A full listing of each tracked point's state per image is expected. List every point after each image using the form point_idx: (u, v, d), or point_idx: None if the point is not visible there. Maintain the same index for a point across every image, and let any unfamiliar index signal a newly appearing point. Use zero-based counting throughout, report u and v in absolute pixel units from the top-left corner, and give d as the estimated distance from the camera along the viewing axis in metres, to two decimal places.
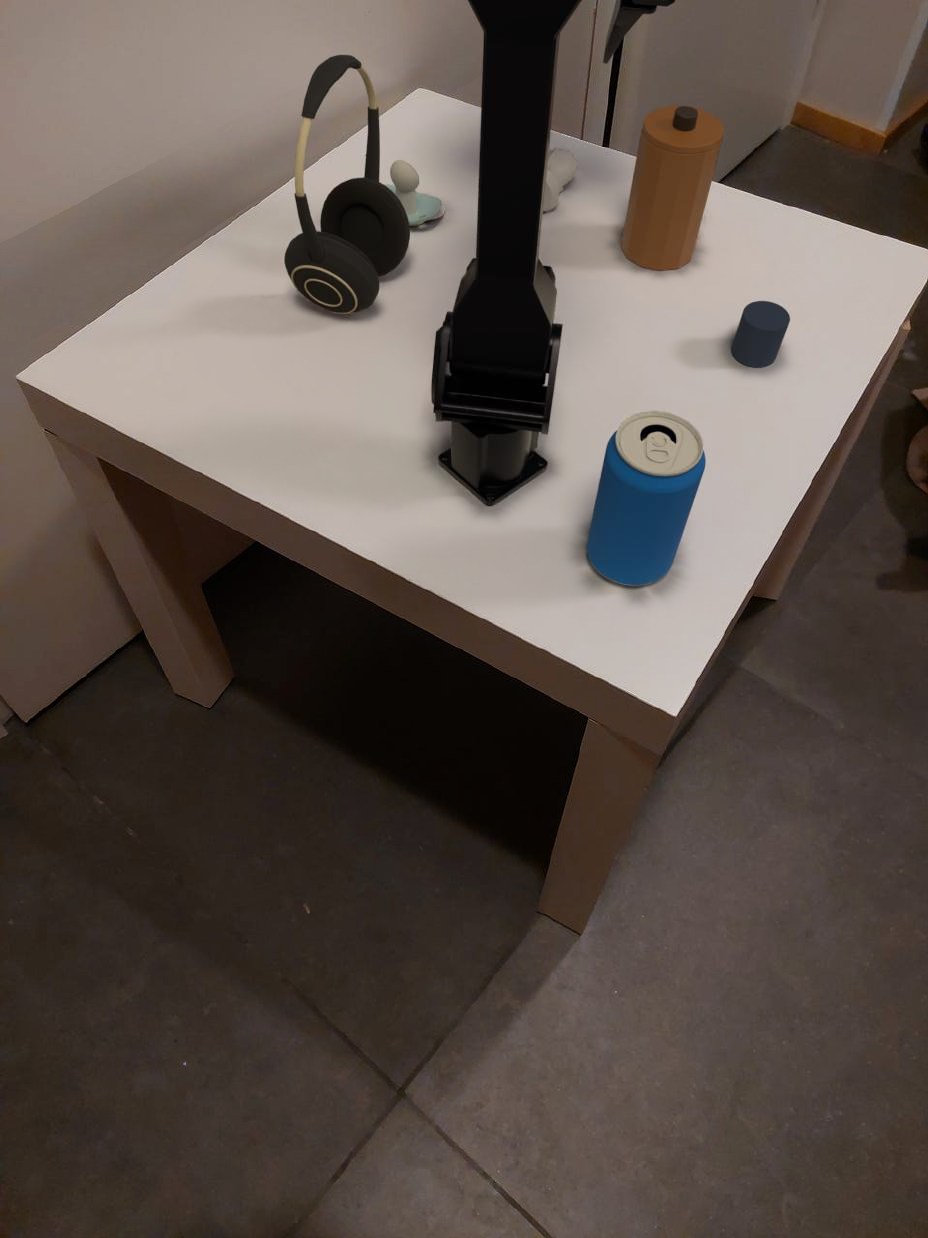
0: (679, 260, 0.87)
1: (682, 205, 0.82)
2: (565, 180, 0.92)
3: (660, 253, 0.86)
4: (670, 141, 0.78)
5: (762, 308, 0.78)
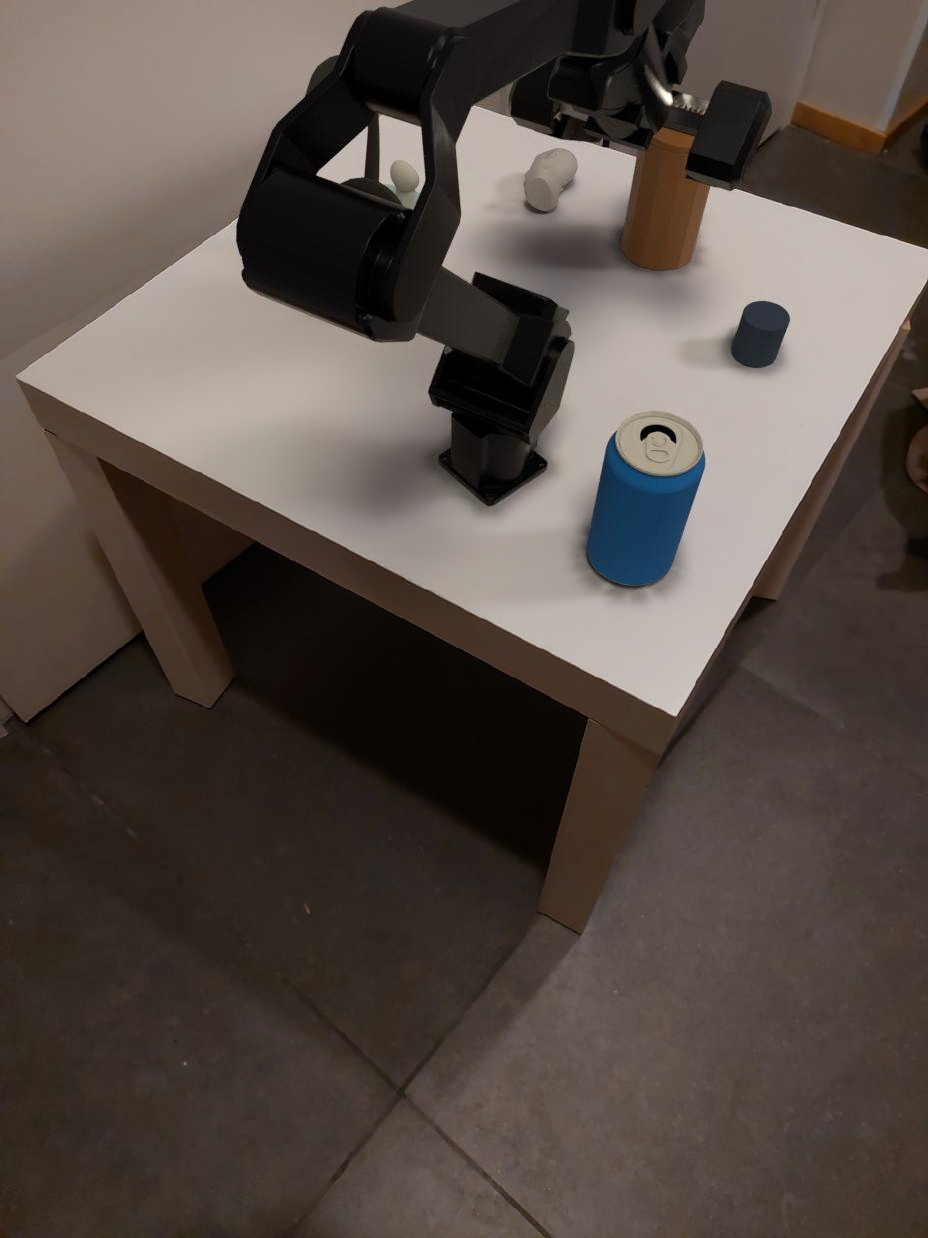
0: (679, 260, 0.87)
1: (682, 205, 0.82)
2: (565, 180, 0.92)
3: (660, 253, 0.86)
4: (670, 141, 0.78)
5: (762, 308, 0.78)
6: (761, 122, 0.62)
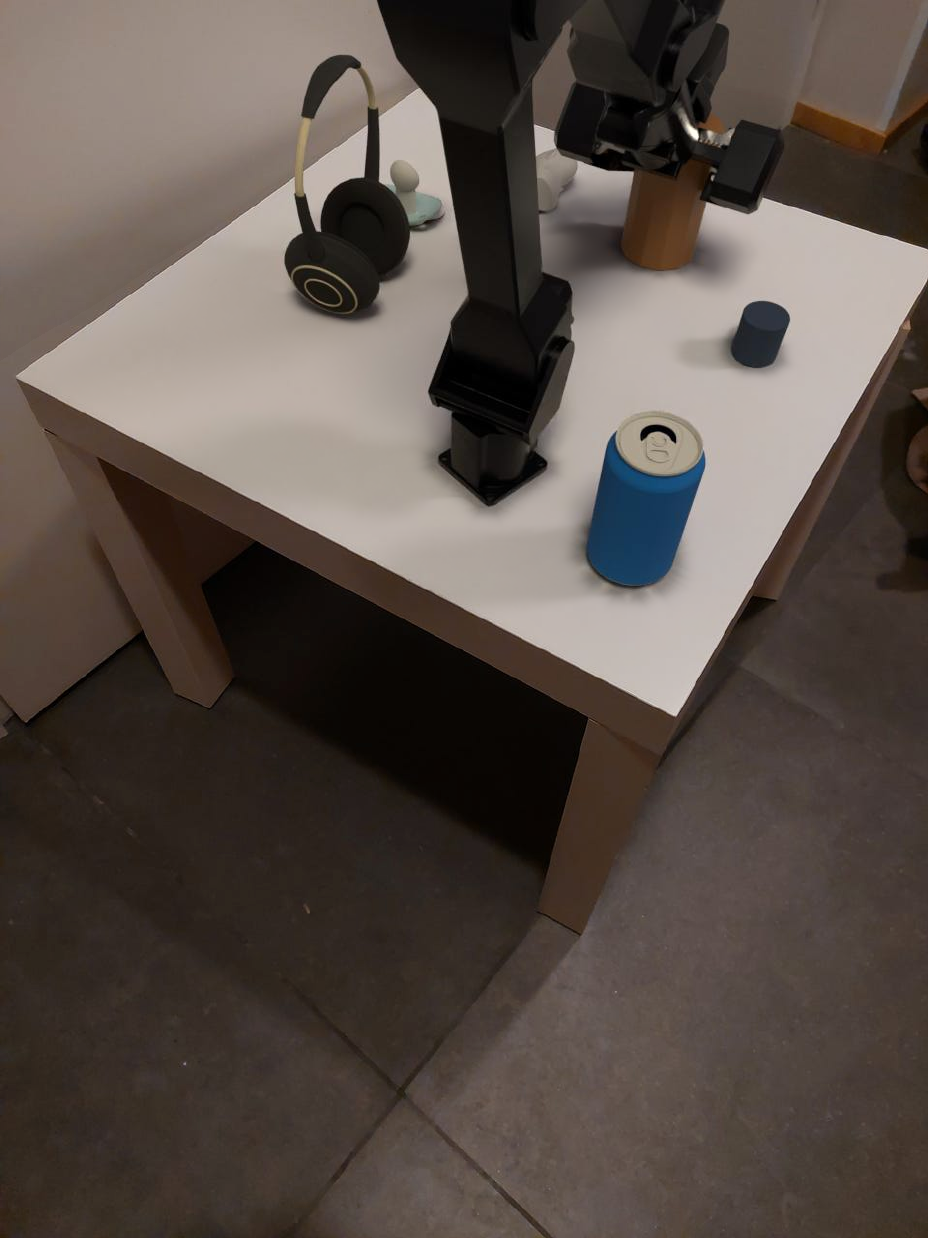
0: (679, 260, 0.87)
1: (682, 205, 0.82)
2: (565, 180, 0.92)
3: (660, 253, 0.86)
4: None
5: (762, 308, 0.78)
6: (775, 156, 0.73)
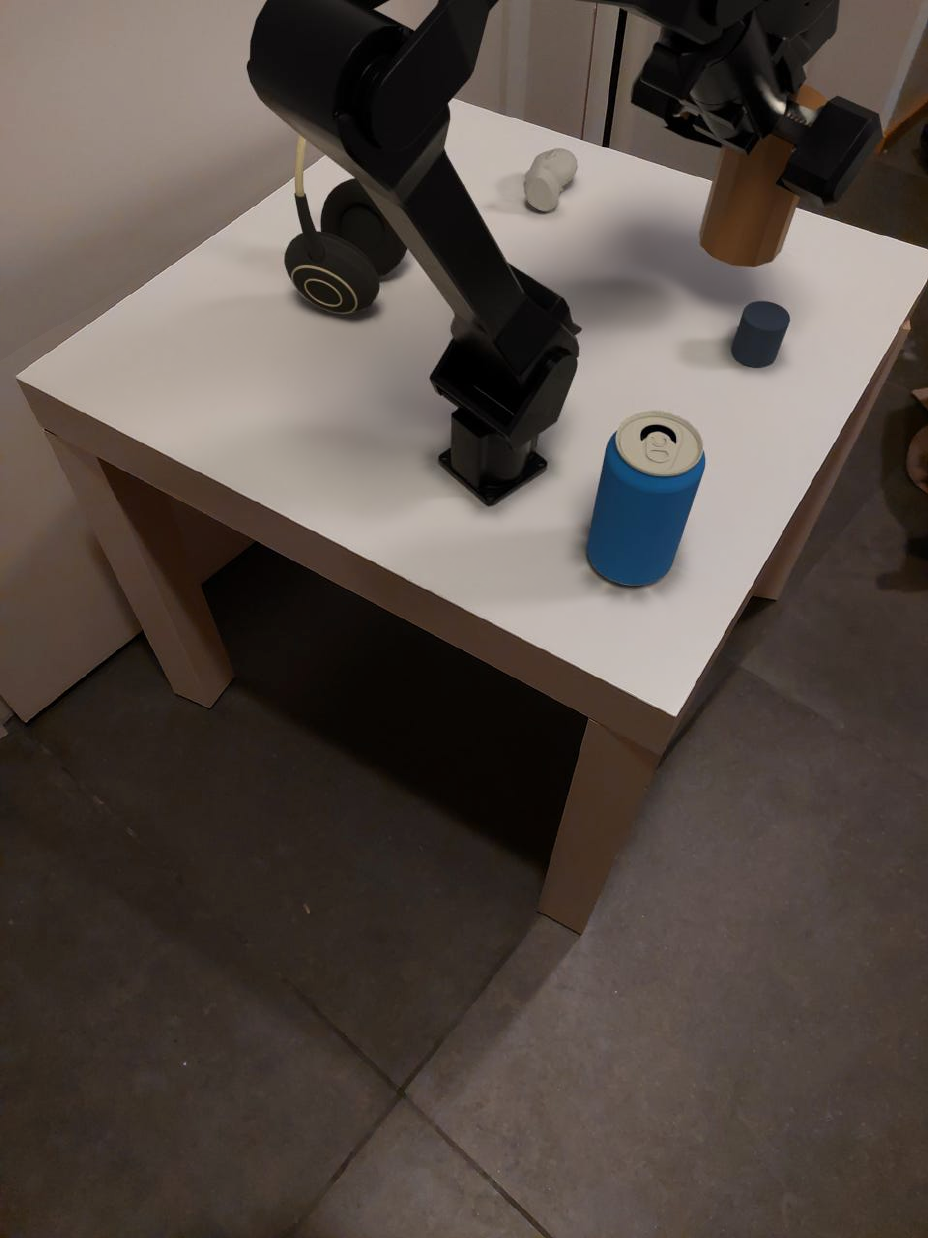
0: (756, 258, 0.76)
1: (764, 192, 0.71)
2: (565, 180, 0.92)
3: (734, 245, 0.76)
4: None
5: (762, 308, 0.78)
6: (865, 142, 0.62)
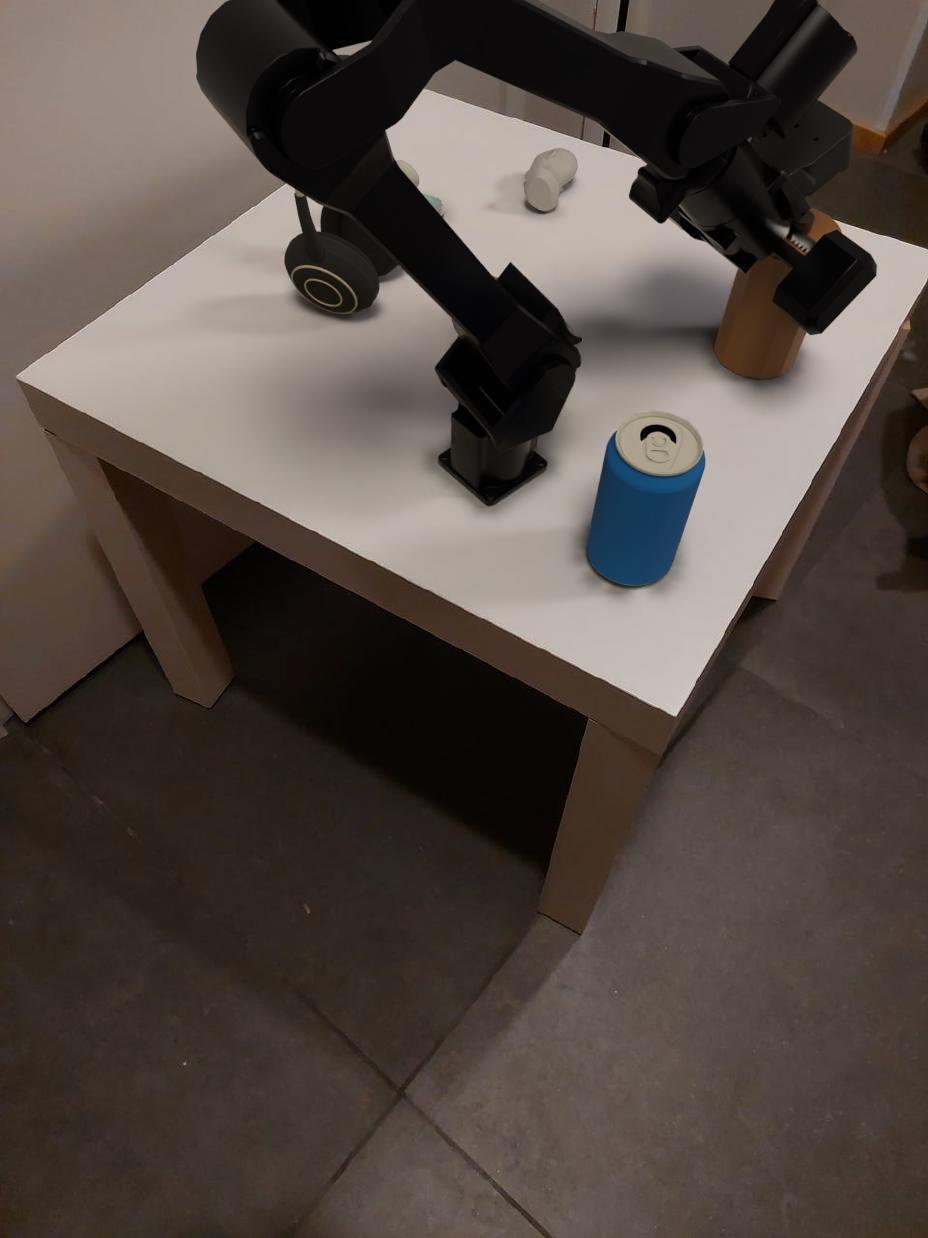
0: (761, 371, 0.78)
1: (769, 313, 0.73)
2: (565, 180, 0.92)
3: (740, 356, 0.78)
4: None
5: None
6: (852, 280, 0.63)
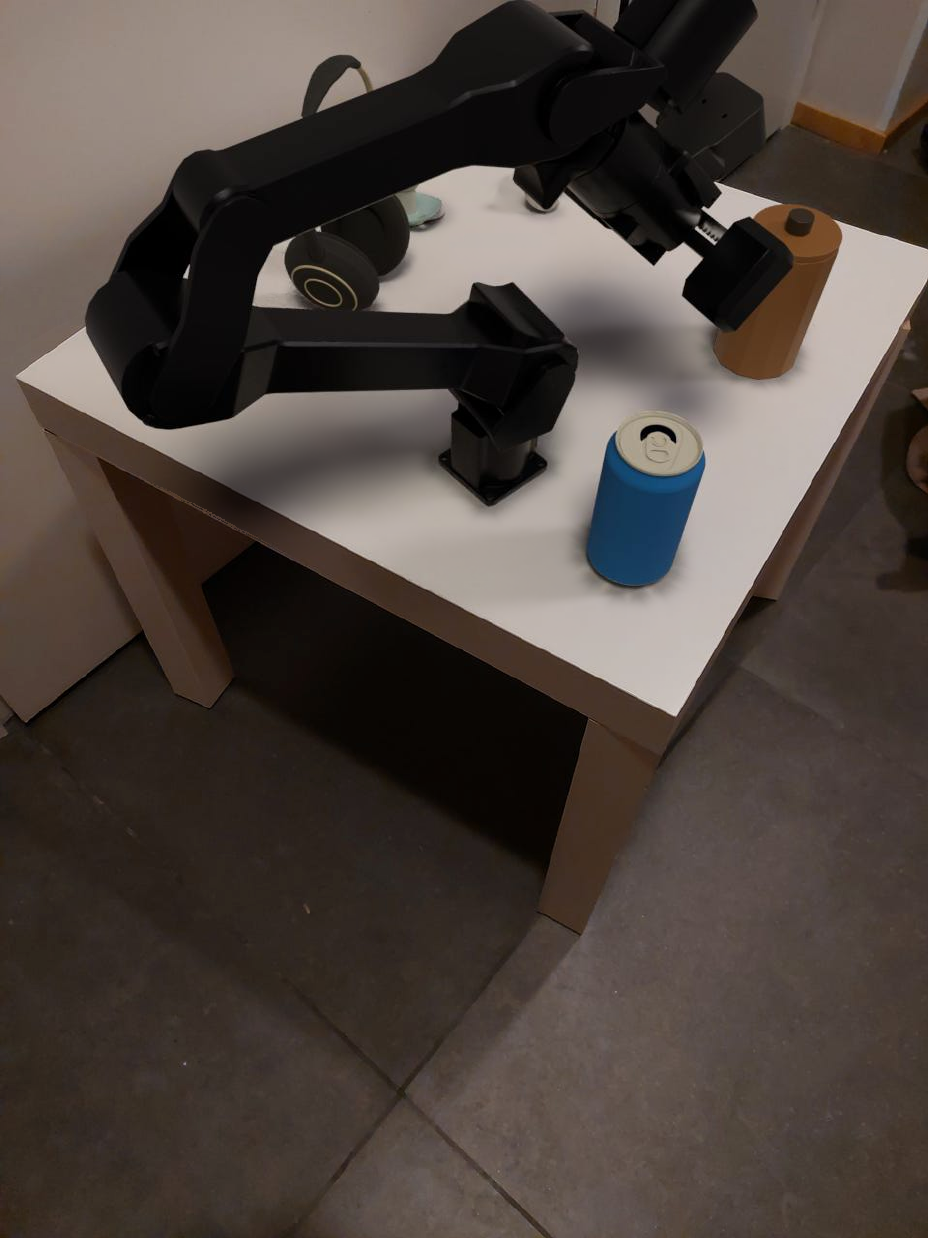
0: (761, 371, 0.78)
1: (769, 313, 0.73)
2: None
3: (740, 356, 0.78)
4: None
5: None
6: (764, 272, 0.56)
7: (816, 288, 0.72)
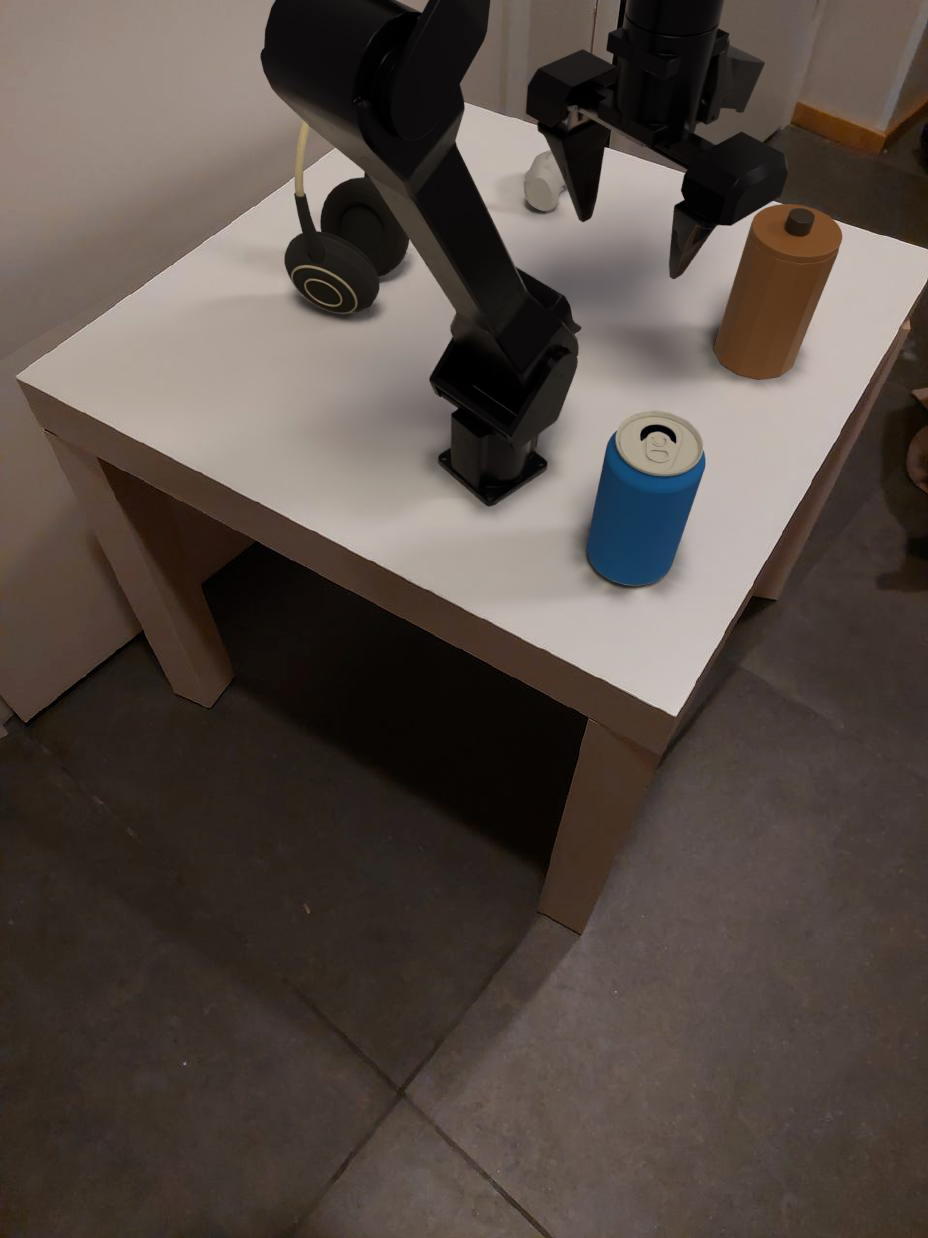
0: (761, 371, 0.78)
1: (769, 313, 0.73)
2: None
3: (740, 356, 0.78)
4: (768, 240, 0.70)
5: None
6: (776, 171, 0.56)
7: (816, 288, 0.72)
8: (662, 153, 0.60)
